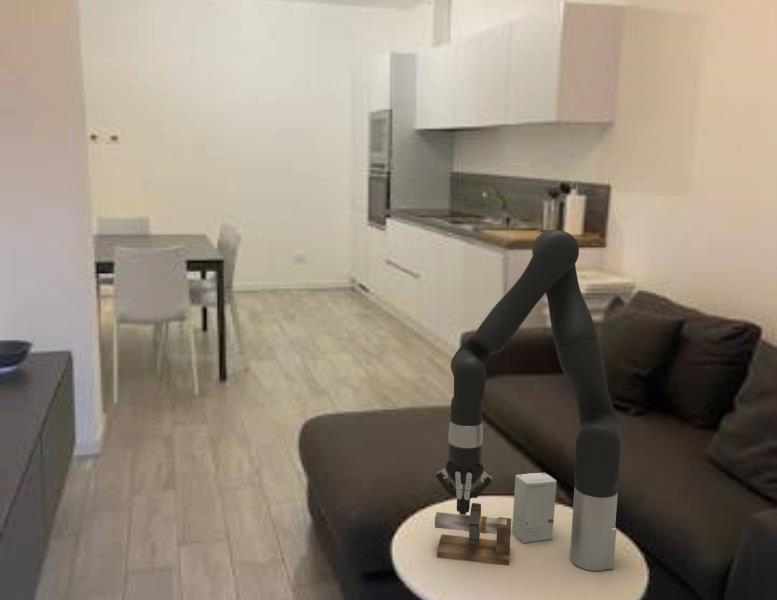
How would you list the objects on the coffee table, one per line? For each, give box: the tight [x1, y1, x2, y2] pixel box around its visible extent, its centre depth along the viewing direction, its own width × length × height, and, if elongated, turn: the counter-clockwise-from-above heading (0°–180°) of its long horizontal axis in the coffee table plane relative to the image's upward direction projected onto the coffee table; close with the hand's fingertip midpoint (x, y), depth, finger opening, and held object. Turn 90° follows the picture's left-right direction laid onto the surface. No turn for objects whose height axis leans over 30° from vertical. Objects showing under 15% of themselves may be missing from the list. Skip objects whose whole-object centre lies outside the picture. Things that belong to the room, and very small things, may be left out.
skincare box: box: [511, 472, 557, 544], centre depth 183 cm, size 8×6×15 cm
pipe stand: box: [434, 511, 512, 566], centre depth 175 cm, size 17×8×8 cm, turn 79°
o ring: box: [468, 502, 482, 545], centre depth 175 cm, size 2×9×9 cm, turn 169°
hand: (462, 513), depth 175 cm, fingers closed
